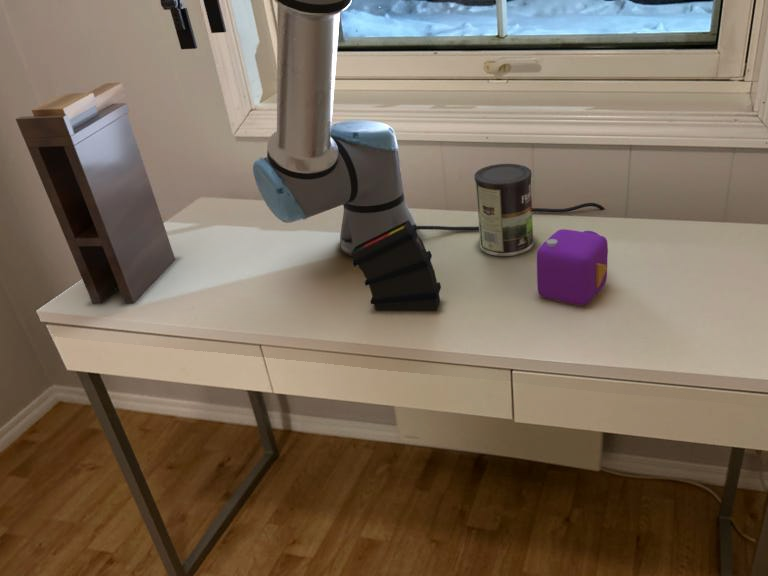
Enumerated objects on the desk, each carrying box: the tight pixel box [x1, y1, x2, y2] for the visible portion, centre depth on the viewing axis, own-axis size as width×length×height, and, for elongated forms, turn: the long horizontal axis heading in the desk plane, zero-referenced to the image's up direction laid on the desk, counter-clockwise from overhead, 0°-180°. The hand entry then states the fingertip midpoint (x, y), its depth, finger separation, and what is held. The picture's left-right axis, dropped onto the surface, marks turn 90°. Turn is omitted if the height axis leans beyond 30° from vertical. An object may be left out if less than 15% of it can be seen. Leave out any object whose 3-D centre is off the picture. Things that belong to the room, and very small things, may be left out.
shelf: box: [15, 102, 176, 304], centre depth 132 cm, size 8×18×33 cm, turn 174°
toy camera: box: [536, 228, 609, 306], centre depth 124 cm, size 11×14×10 cm
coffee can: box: [473, 163, 535, 257], centre depth 139 cm, size 10×10×14 cm
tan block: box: [31, 82, 127, 130], centre depth 127 cm, size 5×20×4 cm, turn 174°
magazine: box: [349, 220, 442, 312], centre depth 123 cm, size 4×13×15 cm, turn 83°
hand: (204, 40), depth 139 cm, fingers open, 13 cm apart
